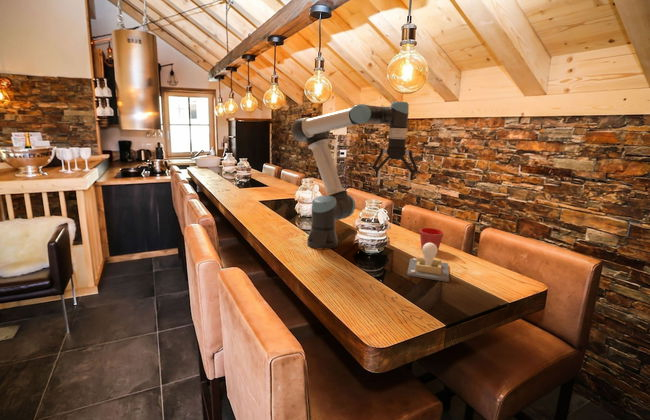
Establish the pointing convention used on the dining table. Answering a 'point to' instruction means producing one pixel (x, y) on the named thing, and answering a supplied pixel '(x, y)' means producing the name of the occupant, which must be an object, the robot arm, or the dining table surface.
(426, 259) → the lightbulb
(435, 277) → the board
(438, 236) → the flower pot
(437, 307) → the dining table surface
